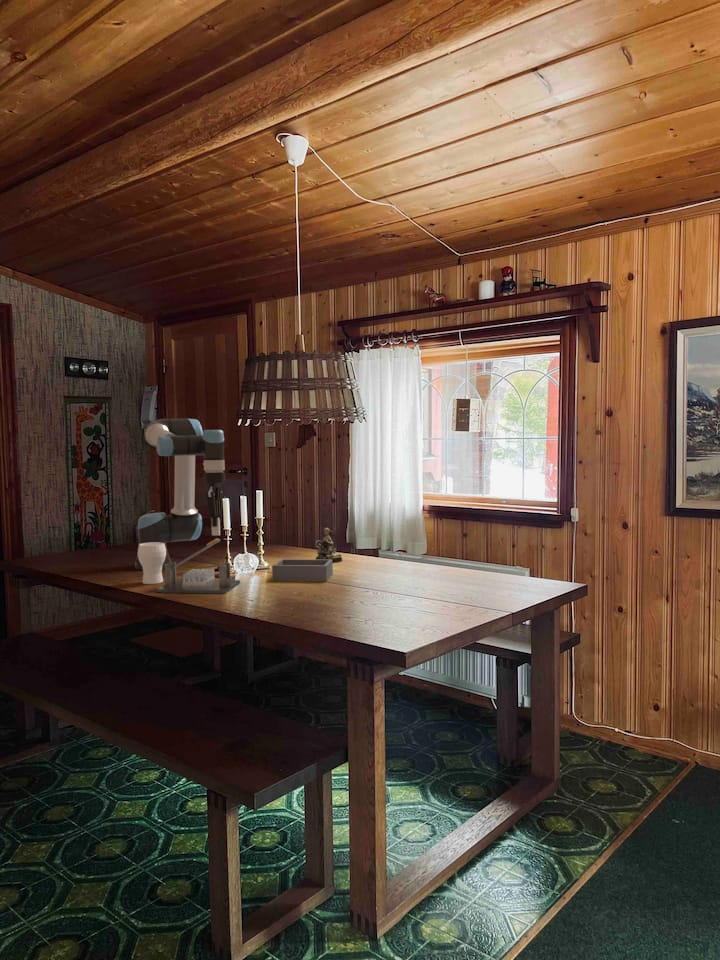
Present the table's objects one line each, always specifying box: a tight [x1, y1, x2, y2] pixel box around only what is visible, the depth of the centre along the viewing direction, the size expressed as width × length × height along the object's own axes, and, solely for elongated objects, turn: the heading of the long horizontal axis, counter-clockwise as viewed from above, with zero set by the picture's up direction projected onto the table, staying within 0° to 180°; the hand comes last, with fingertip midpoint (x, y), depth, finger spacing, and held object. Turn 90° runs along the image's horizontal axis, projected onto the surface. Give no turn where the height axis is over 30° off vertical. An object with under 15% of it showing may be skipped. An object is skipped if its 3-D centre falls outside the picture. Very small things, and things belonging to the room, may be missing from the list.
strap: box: [171, 537, 221, 571], centre depth 271 cm, size 23×3×2 cm, turn 83°
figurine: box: [314, 527, 343, 564], centre depth 325 cm, size 12×11×15 cm
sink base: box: [155, 561, 241, 595], centre depth 272 cm, size 26×18×9 cm
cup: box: [137, 542, 166, 585], centre depth 283 cm, size 11×11×15 cm
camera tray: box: [271, 558, 334, 582], centre depth 289 cm, size 14×21×6 cm
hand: (216, 535), depth 270 cm, fingers closed
